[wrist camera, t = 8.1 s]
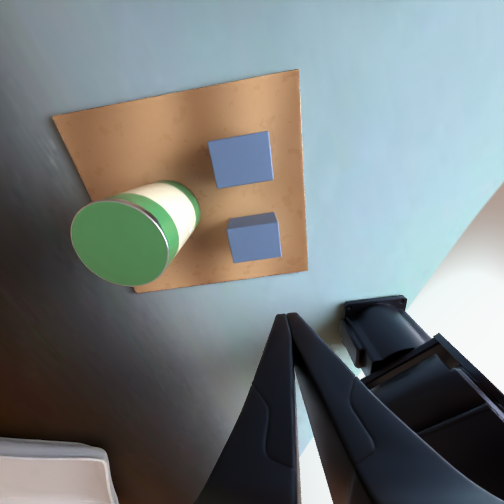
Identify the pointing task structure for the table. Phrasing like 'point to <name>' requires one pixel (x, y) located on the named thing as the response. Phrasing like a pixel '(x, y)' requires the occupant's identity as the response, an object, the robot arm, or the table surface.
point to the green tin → (135, 232)
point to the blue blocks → (241, 173)
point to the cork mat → (201, 167)
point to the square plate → (54, 473)
